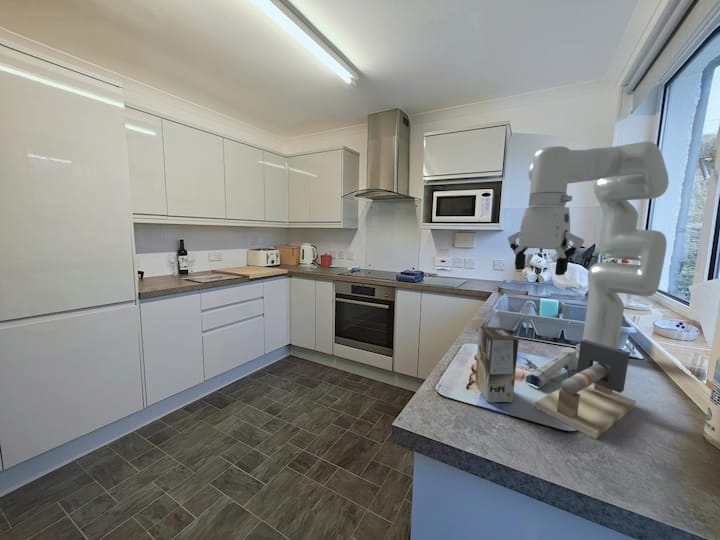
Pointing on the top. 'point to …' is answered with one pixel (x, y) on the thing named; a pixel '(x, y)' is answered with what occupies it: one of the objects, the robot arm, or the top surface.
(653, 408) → the top surface
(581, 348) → the collar
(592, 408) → the pipe rig
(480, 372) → the coffee box
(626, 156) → the robot arm
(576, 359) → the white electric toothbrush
